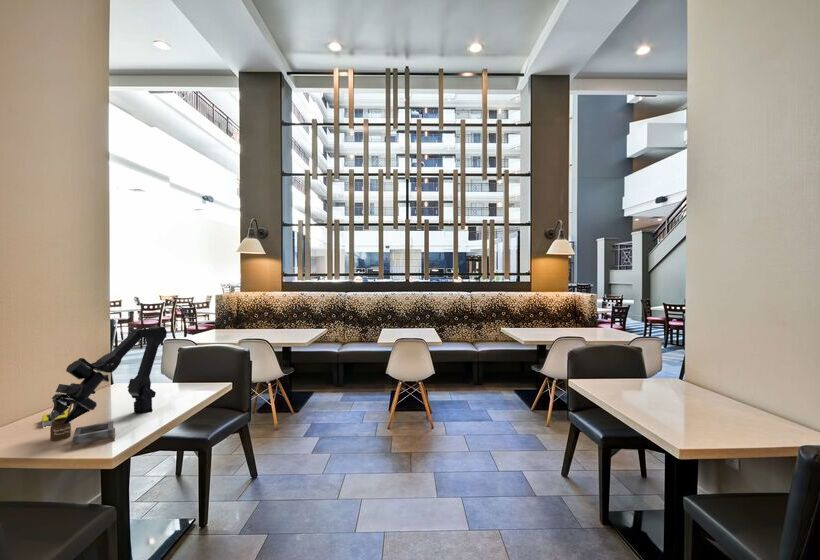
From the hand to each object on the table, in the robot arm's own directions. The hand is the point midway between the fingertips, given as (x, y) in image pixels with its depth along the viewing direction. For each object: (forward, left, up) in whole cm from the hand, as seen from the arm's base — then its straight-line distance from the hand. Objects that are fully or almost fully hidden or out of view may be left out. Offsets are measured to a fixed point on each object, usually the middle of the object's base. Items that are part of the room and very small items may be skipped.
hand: (56, 422), depth 151 cm
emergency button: (+3, -26, -7) cm, 28 cm away
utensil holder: (-1, -1, -7) cm, 7 cm away
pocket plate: (-12, +10, -7) cm, 17 cm away
